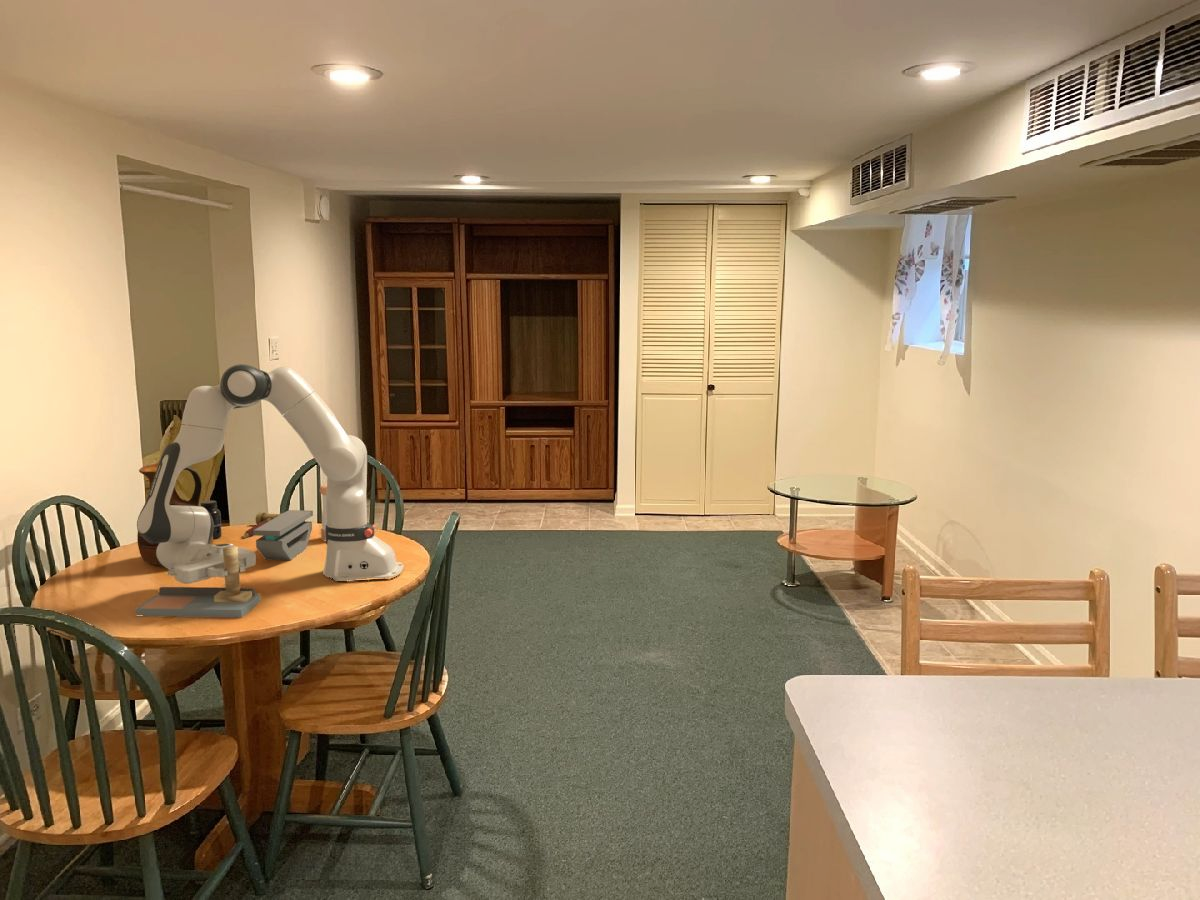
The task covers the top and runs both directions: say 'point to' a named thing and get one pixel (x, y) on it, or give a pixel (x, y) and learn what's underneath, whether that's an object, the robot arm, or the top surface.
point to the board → (195, 603)
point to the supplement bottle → (214, 517)
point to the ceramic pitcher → (149, 471)
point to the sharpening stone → (284, 535)
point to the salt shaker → (324, 515)
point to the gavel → (260, 522)
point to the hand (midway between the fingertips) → (233, 571)
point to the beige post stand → (232, 579)
